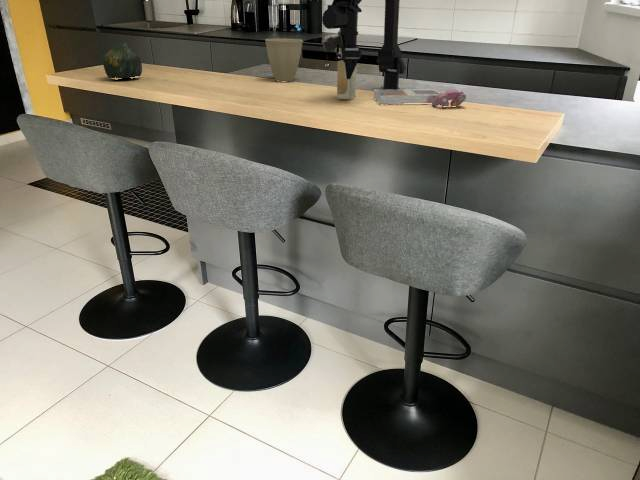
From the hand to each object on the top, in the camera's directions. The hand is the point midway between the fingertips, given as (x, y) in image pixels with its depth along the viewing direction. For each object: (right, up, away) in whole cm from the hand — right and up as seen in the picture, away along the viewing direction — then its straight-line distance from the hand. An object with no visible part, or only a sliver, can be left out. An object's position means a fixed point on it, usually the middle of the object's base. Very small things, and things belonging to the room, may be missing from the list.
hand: (346, 77), depth 174 cm
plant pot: (-24, +11, +38) cm, 46 cm away
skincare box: (0, -6, +3) cm, 7 cm away
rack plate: (+21, -8, +1) cm, 22 cm away
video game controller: (+33, -12, -6) cm, 35 cm away
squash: (-89, +10, +35) cm, 96 cm away
